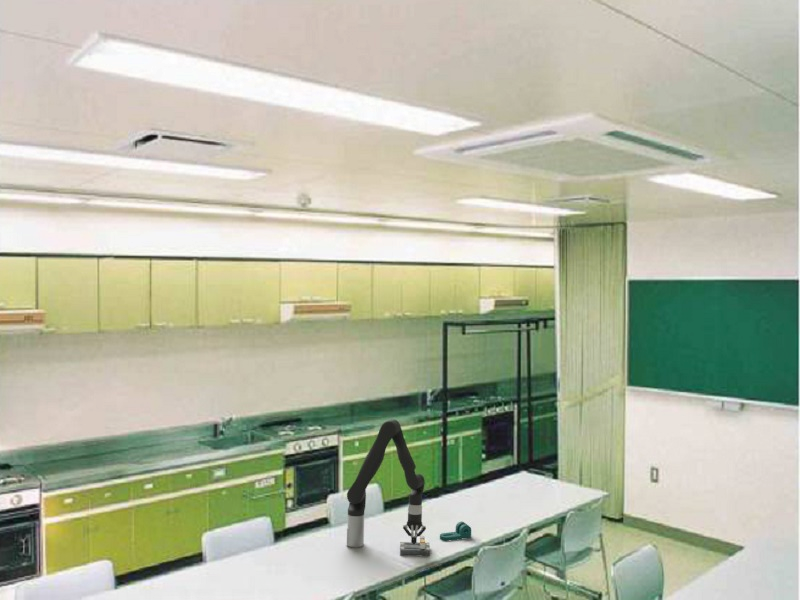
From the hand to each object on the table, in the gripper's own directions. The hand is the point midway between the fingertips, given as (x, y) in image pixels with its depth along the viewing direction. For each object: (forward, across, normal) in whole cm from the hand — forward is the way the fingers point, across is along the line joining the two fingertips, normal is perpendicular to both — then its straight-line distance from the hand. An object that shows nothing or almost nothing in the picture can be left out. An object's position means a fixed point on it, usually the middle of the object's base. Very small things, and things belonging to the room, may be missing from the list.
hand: (413, 543), depth 373 cm
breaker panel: (+6, +1, +3) cm, 6 cm away
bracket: (+6, +24, +26) cm, 36 cm away
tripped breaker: (+2, +5, 0) cm, 5 cm away
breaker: (+2, +5, +6) cm, 8 cm away
